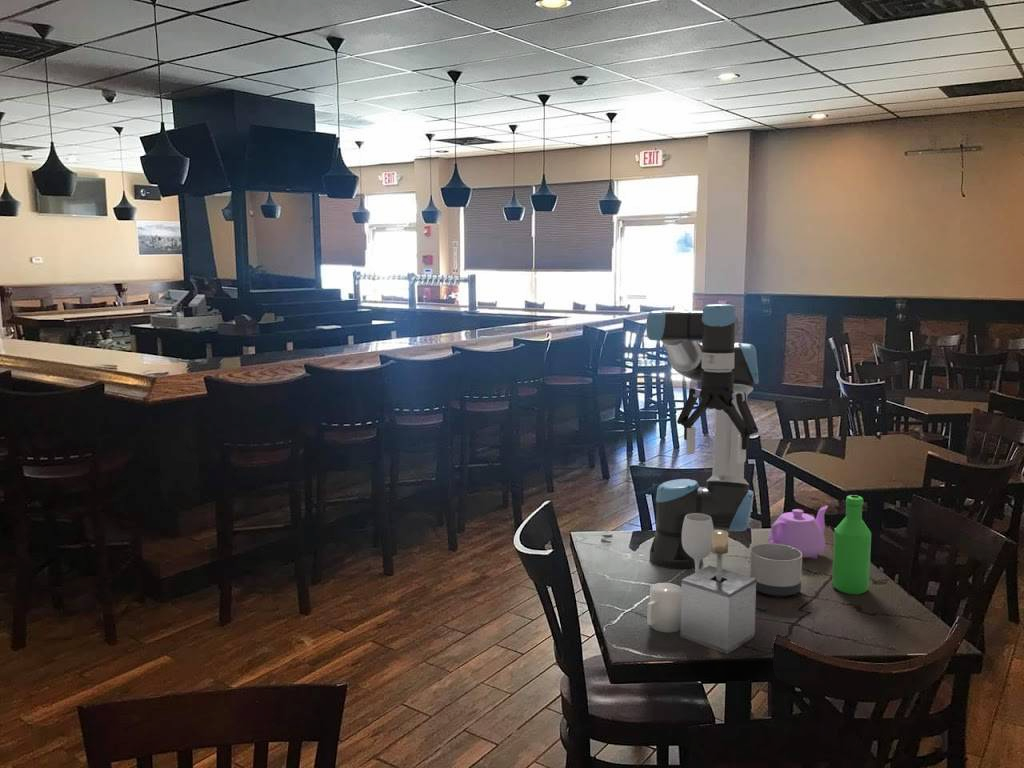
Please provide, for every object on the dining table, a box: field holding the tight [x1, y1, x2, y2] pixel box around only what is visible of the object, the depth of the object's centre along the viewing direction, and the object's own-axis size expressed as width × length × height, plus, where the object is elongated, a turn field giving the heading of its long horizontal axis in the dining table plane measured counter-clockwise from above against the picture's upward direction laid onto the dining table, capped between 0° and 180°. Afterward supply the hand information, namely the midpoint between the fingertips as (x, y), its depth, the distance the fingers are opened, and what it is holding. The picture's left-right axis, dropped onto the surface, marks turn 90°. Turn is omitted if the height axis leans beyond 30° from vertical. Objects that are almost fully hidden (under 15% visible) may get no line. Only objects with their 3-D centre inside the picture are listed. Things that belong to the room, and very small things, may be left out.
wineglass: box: [682, 513, 715, 573], centre depth 201 cm, size 9×9×21 cm
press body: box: [680, 565, 757, 655], centre depth 178 cm, size 12×12×14 cm
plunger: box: [711, 529, 729, 583], centre depth 177 cm, size 9×9×23 cm
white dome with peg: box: [646, 582, 681, 633], centre depth 184 cm, size 8×11×9 cm
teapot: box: [768, 505, 829, 560], centre depth 229 cm, size 22×16×14 cm
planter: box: [749, 543, 803, 597], centre depth 204 cm, size 13×13×10 cm
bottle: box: [831, 494, 872, 595], centre depth 203 cm, size 9×9×25 cm
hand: (715, 458), depth 187 cm, fingers open, 13 cm apart
